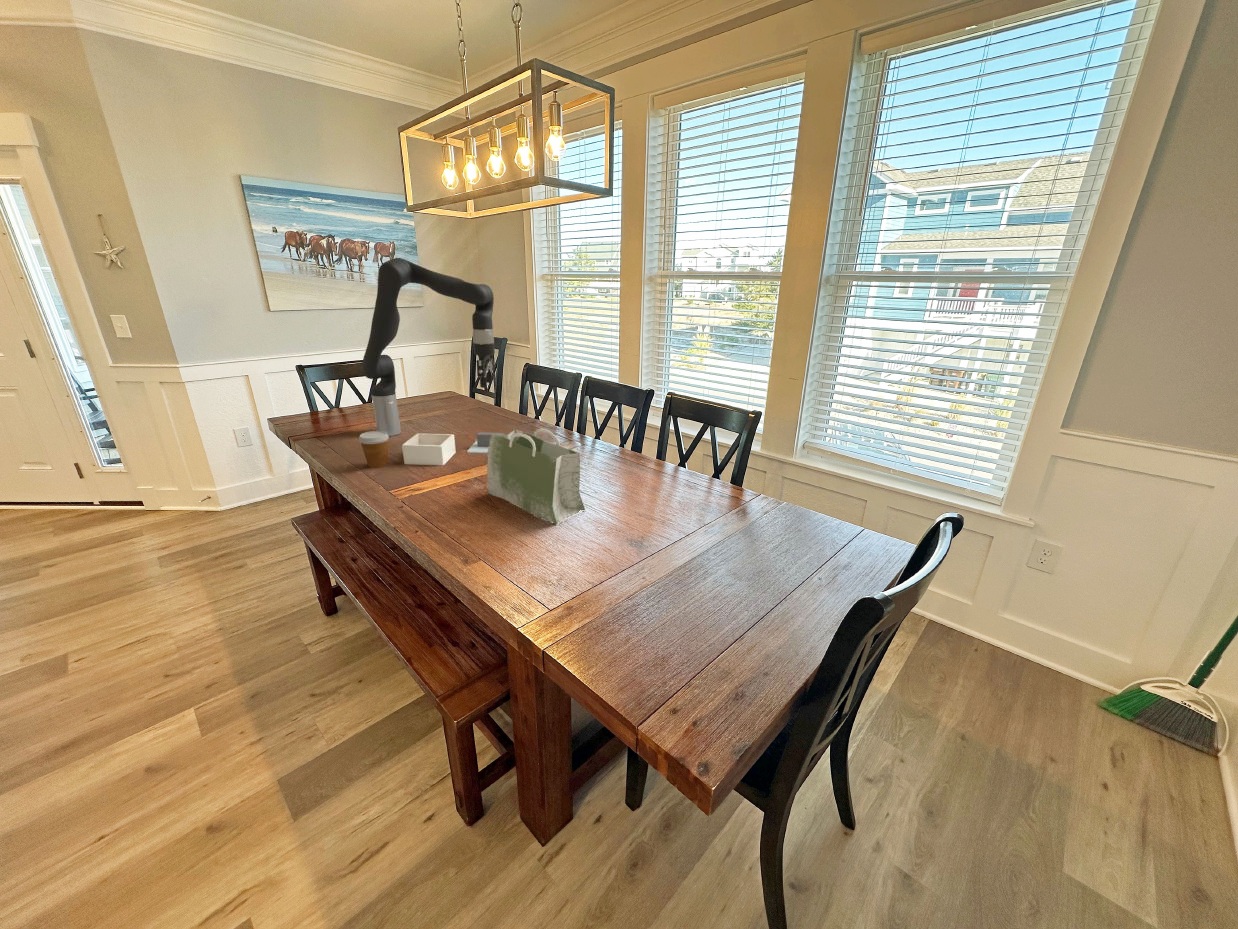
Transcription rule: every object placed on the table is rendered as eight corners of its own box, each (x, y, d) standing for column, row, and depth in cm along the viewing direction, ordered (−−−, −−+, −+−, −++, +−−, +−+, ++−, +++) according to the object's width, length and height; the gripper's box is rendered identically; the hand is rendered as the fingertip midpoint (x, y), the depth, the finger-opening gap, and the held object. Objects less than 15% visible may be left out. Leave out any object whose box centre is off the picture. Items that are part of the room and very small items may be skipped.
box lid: (477, 443, 202) (476, 427, 200) (513, 444, 202) (513, 428, 200) (467, 455, 188) (465, 439, 186) (506, 456, 188) (505, 440, 186)
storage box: (419, 453, 188) (417, 433, 186) (455, 454, 189) (454, 434, 186) (404, 466, 175) (401, 445, 173) (443, 467, 175) (441, 446, 173)
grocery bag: (588, 510, 147) (589, 437, 139) (555, 526, 137) (553, 448, 129) (519, 481, 166) (516, 415, 158) (485, 493, 156) (480, 424, 147)
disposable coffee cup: (357, 468, 172) (351, 436, 168) (379, 460, 180) (374, 429, 176) (377, 473, 169) (372, 440, 164) (398, 464, 177) (394, 432, 173)
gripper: (478, 338, 187) (481, 380, 192) (467, 343, 173) (471, 388, 179) (498, 339, 187) (500, 381, 192) (489, 344, 173) (491, 389, 179)
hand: (486, 384), depth 186 cm, fingers open, 8 cm apart
